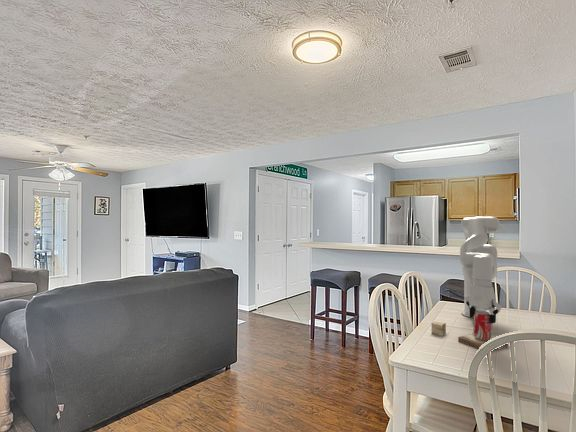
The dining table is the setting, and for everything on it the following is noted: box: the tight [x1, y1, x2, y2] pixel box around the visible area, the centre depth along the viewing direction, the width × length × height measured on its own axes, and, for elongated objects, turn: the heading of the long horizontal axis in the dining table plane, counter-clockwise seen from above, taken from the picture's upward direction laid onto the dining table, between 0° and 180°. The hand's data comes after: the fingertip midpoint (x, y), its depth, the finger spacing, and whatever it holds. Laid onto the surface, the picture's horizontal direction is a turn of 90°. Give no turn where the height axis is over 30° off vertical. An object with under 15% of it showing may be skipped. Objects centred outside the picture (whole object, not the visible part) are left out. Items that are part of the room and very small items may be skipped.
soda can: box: [473, 311, 493, 341], centre depth 153 cm, size 7×7×12 cm
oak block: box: [431, 320, 447, 336], centre depth 168 cm, size 5×5×5 cm
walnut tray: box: [457, 333, 509, 351], centre depth 153 cm, size 14×14×2 cm
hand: (482, 319), depth 154 cm, fingers open, 9 cm apart
